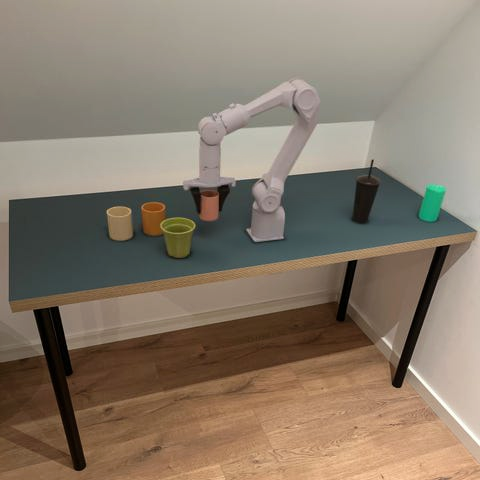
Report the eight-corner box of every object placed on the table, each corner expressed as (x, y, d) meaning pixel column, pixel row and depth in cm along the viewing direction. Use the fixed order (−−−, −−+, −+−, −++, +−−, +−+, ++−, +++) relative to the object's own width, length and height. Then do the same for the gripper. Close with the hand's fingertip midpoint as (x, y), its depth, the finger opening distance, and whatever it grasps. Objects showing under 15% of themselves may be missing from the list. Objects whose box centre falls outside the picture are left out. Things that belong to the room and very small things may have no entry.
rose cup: (215, 211, 150) (216, 189, 146) (220, 220, 146) (221, 197, 142) (197, 213, 149) (197, 190, 144) (201, 221, 144) (201, 198, 140)
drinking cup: (371, 227, 163) (385, 165, 151) (347, 223, 164) (359, 162, 152) (371, 216, 169) (385, 157, 157) (348, 213, 170) (360, 154, 158)
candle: (416, 218, 170) (426, 184, 163) (420, 212, 174) (430, 178, 167) (435, 223, 168) (445, 188, 161) (438, 216, 172) (449, 182, 165)
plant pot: (164, 263, 139) (163, 234, 134) (159, 246, 146) (157, 218, 141) (198, 259, 141) (198, 231, 136) (191, 243, 148) (191, 216, 143)
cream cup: (131, 228, 154) (129, 205, 149) (134, 239, 149) (132, 215, 144) (108, 231, 152) (105, 207, 147) (110, 241, 147) (108, 217, 142)
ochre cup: (163, 224, 157) (162, 201, 153) (168, 234, 152) (167, 211, 148) (141, 226, 155) (139, 203, 151) (145, 236, 150) (143, 213, 146)
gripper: (231, 158, 143) (229, 203, 151) (180, 161, 139) (181, 207, 147) (238, 167, 138) (236, 213, 146) (186, 170, 134) (186, 218, 142)
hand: (209, 211), depth 146 cm, fingers closed on rose cup, 5 cm apart
